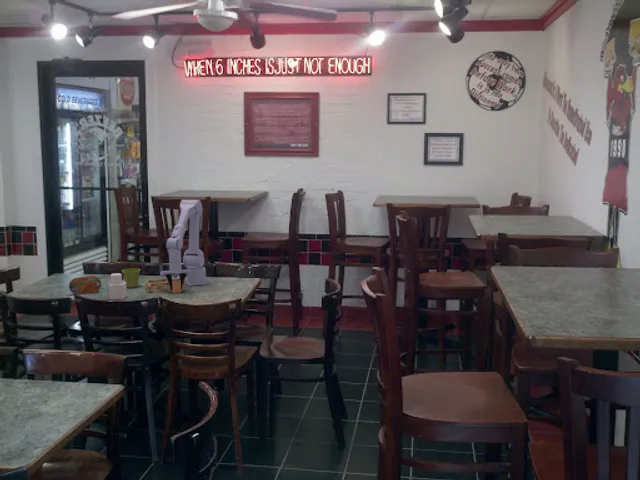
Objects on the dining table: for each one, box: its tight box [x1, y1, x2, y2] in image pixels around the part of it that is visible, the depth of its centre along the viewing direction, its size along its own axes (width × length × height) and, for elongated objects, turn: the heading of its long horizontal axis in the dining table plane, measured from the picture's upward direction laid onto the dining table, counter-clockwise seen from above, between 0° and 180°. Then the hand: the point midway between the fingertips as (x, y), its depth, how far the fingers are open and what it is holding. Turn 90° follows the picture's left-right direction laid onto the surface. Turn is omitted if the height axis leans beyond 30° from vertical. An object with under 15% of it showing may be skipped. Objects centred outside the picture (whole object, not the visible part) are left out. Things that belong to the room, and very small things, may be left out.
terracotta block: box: [171, 279, 182, 294], centre depth 348 cm, size 4×4×6 cm
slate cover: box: [165, 275, 186, 282], centre depth 356 cm, size 8×8×4 cm
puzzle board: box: [144, 278, 186, 294], centre depth 355 cm, size 18×12×4 cm, turn 111°
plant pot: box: [121, 268, 141, 289], centre depth 362 cm, size 9×9×9 cm
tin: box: [68, 275, 102, 296], centre depth 346 cm, size 15×3×8 cm, turn 122°
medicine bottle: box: [107, 272, 128, 300], centre depth 335 cm, size 7×7×12 cm
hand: (176, 289), depth 348 cm, fingers closed on terracotta block, 4 cm apart
